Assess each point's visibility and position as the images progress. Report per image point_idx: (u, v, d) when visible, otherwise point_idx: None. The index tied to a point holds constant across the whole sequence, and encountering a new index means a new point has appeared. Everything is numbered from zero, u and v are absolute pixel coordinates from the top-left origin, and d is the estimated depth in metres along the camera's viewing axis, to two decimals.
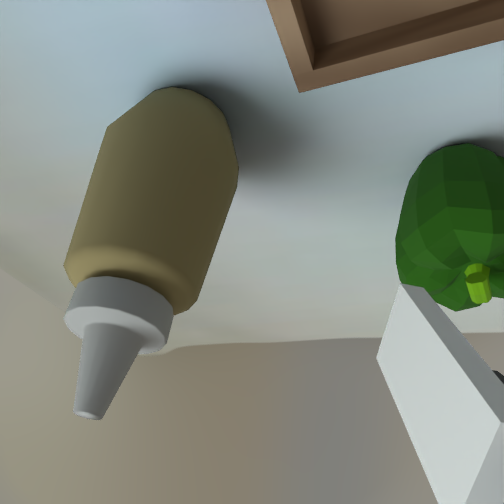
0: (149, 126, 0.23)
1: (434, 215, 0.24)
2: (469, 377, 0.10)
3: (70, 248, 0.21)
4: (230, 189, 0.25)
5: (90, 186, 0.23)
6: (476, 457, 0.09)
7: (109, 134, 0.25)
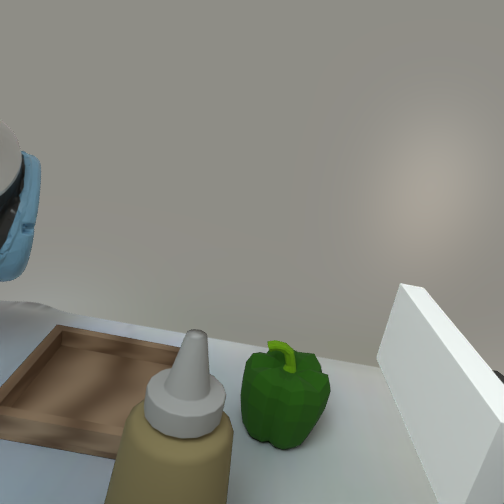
0: None
1: (247, 381, 0.43)
2: (469, 377, 0.10)
3: (125, 436, 0.27)
4: None
5: (113, 485, 0.28)
6: (476, 457, 0.09)
7: None
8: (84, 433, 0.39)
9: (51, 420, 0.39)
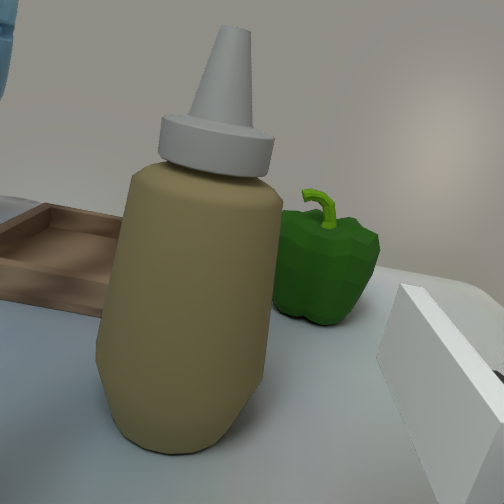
0: None
1: None
2: (469, 377, 0.10)
3: (132, 186, 0.18)
4: None
5: (114, 269, 0.19)
6: (476, 457, 0.09)
7: (99, 335, 0.21)
8: (76, 283, 0.30)
9: (34, 268, 0.31)
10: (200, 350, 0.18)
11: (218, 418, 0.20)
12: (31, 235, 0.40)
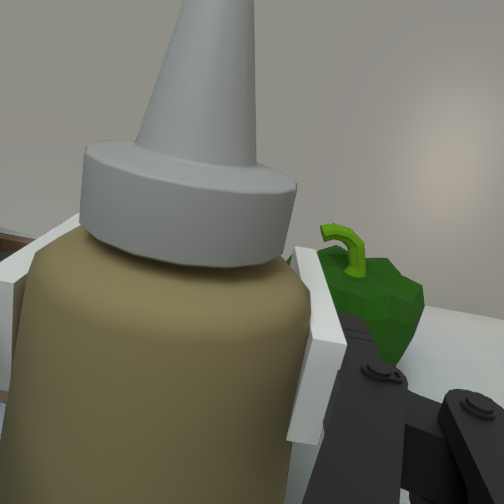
0: None
1: None
2: None
3: (26, 281, 0.10)
4: None
5: None
6: (301, 372, 0.10)
7: None
8: None
9: None
10: None
11: None
12: None
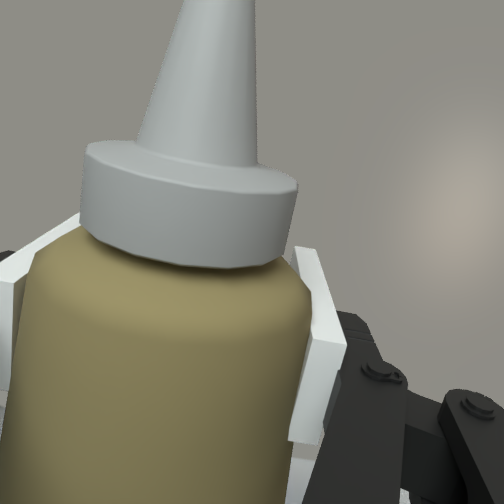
0: None
1: None
2: None
3: (26, 281, 0.10)
4: None
5: None
6: (301, 372, 0.10)
7: None
8: None
9: None
10: None
11: None
12: None
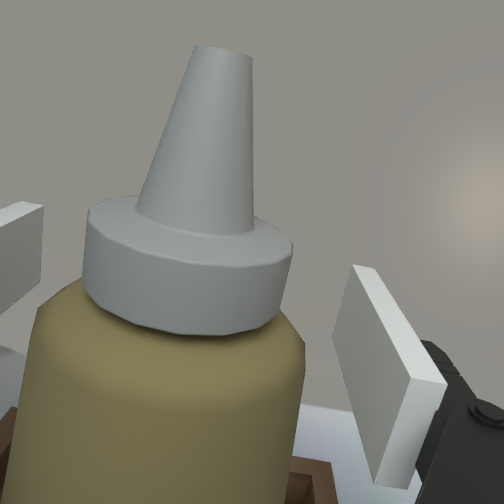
0: None
1: None
2: (393, 342, 0.11)
3: None
4: None
5: (6, 472, 0.11)
6: (393, 412, 0.10)
7: None
8: None
9: None
10: None
11: None
12: None
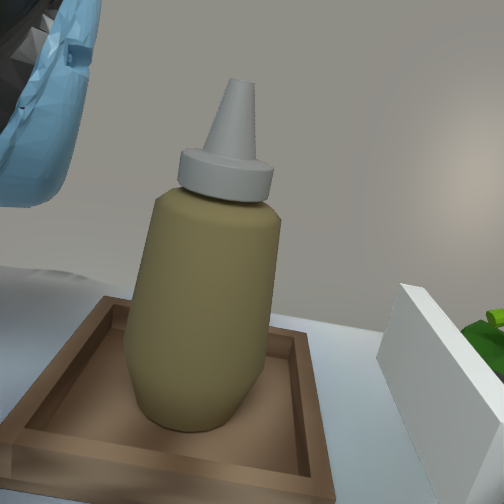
0: None
1: None
2: (469, 377, 0.10)
3: (157, 209, 0.22)
4: None
5: (141, 277, 0.23)
6: (476, 457, 0.09)
7: (127, 332, 0.25)
8: (190, 482, 0.20)
9: (126, 457, 0.20)
10: (212, 343, 0.22)
11: (227, 401, 0.24)
12: (93, 351, 0.30)
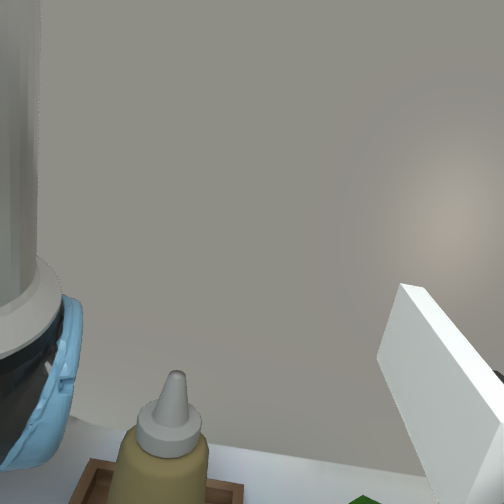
0: None
1: None
2: (469, 377, 0.10)
3: (121, 456, 0.33)
4: None
5: (111, 495, 0.34)
6: (476, 457, 0.09)
7: None
8: None
9: None
10: None
11: None
12: None
